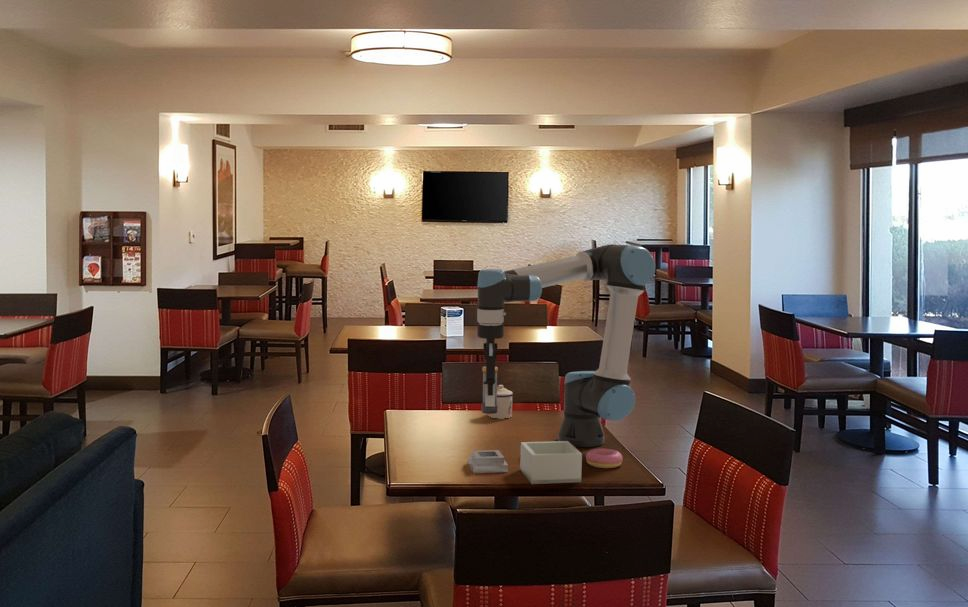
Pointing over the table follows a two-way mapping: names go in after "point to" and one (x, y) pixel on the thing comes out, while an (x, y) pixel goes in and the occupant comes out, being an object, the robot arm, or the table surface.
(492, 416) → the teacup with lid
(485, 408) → the gold topped grey cylinder
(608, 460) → the doughnut
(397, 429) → the table surface
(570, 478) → the bin
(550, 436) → the table surface
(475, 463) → the grey square socket base
